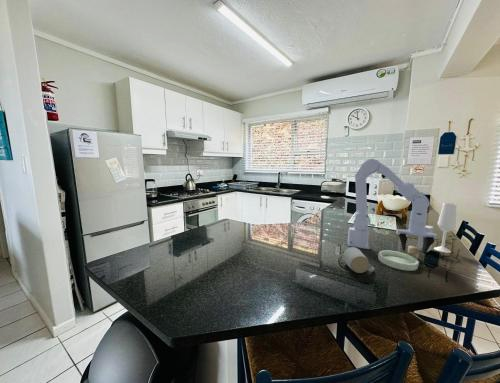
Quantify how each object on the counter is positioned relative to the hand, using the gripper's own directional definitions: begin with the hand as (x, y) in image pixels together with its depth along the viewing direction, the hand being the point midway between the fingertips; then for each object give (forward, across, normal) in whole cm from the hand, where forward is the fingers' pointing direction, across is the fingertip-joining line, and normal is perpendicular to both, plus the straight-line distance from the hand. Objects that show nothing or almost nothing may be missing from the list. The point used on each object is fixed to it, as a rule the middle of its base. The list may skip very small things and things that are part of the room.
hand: (413, 251), depth 97 cm
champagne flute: (+3, +18, +19) cm, 26 cm away
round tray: (+3, -8, -9) cm, 12 cm away
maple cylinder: (+3, 0, 0) cm, 3 cm away
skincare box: (+3, +9, +15) cm, 18 cm away
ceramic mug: (+3, -24, -23) cm, 34 cm away
